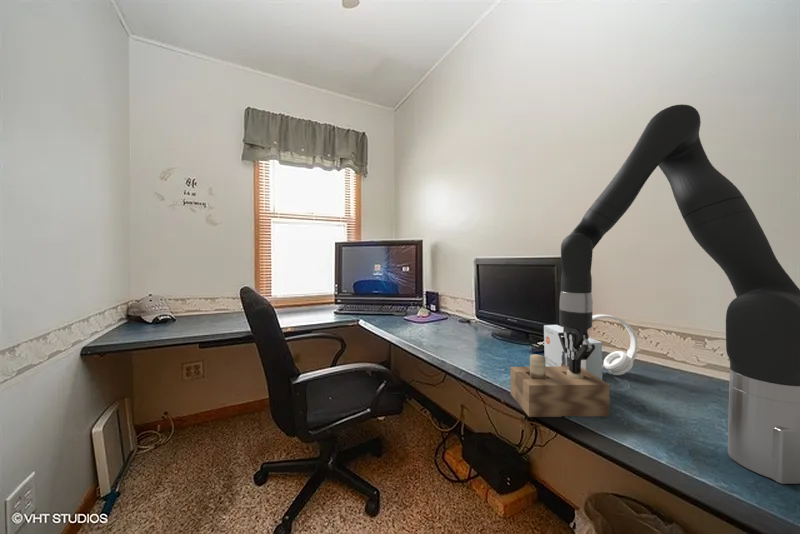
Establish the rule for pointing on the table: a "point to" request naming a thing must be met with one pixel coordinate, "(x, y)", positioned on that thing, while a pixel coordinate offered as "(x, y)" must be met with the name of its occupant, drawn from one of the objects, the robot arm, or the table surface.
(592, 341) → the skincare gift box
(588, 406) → the socket board
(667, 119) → the robot arm
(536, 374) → the dowel
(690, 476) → the table surface
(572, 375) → the dowel
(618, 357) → the headphones
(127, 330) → the table surface
